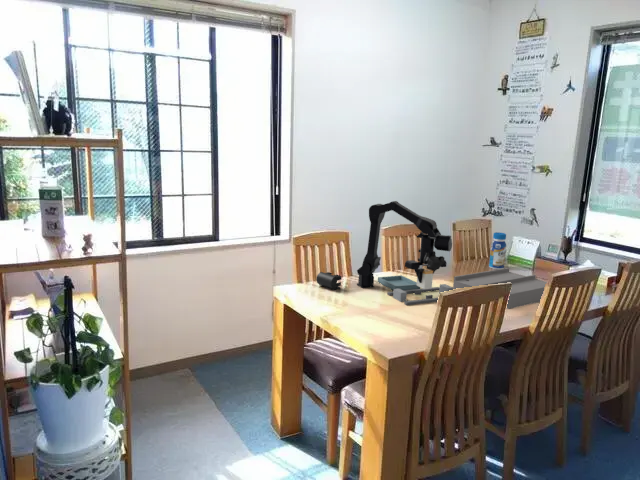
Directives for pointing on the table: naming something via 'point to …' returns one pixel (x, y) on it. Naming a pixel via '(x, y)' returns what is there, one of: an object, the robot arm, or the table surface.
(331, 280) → the electric motor
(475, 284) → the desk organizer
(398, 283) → the tray
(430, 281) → the fuse
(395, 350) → the table surface
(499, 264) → the beverage bottle
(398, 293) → the fuse holder
